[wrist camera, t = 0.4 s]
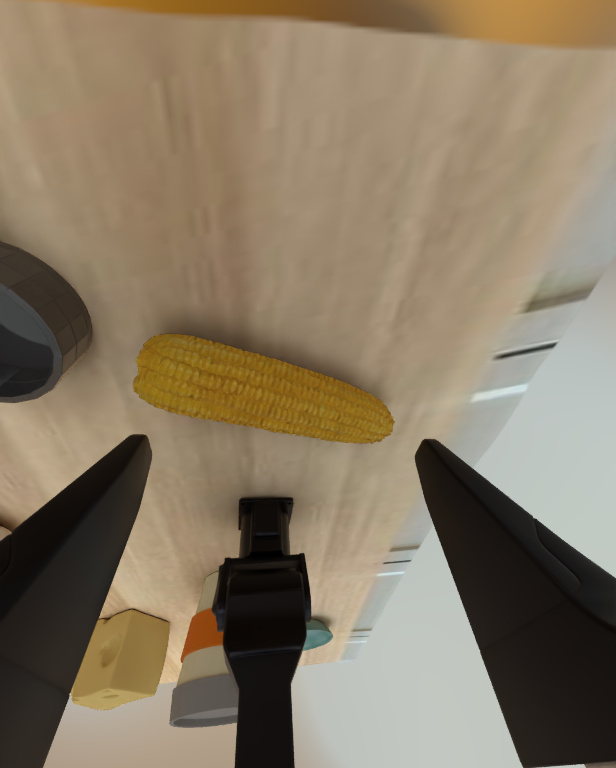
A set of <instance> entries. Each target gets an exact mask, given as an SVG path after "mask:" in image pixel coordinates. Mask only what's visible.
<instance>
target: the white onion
mask: <svg viewBox="0 0 616 768" xmlns="http://www.w3.org/2000/svg"><path fill="white" fill-rule="evenodd" d="M11 533H12V532H11V531H9V530H7V529H6V528H4V527H2V526H0V541H1V540H2V539H3V538H4V537H6V536H7V535H8V534H11Z"/></svg>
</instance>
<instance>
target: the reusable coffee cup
mask: <svg viewBox="0 0 616 768" xmlns="http://www.w3.org/2000/svg"><path fill="white" fill-rule="evenodd" d="M218 574H219V571H218V572H215V573H213V574H211V575H209V576H208V577H207V578H206V579H205V582H204V585H203V589H202V593H201V597H200V600H199V604H198V608H197V612H196V615H195V616H194V617H193V618H192V620H191V623H190V627H189V630H188V634H187V638H186V641H185V645H184V649H183V652H182V656H181V662H182V663H183V664H182V668H181V672H180V675H179V679H178V683H177V687H176V688H174V690H173V694H172V704H171V714H170V725H171V726H174V727H184V728H185V727H186V728H193V727H209V726H218V725H226V724H232V723H237V717H238V699H239V697H238V695H237V692H236V690H235V687H234V684H233V682H232V679H231V677H230V674H229V672H228V669H227V666H226V664H225V658H224V651H223V632H217V623H216V617H215V616H214V615H213V614H212V604H213V600H214V595H215V591H216V587H217V581H218Z"/></svg>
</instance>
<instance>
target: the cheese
mask: <svg viewBox="0 0 616 768" xmlns="http://www.w3.org/2000/svg"><path fill="white" fill-rule="evenodd" d="M169 629H170V623H169V622H166V621H163V620H161V619H158V618H155V617H152V616H149V615H146V614H143V613H141V612H138V611H135V610H128V611H125V612H122V613H119V614H117V615H114V616H113V617H112V618H111V619H110V620H106V619H101V620H98V621H97V624H96V626H95V629H94V632H93V634H92V637H91V640H90V642H89V645H88V648H87V650H86V653H85V656H84V658H83V661H82V664H81V666H80V669H79V672H78V674H77V677H76V680H75V682H74V685H73V688H72V690H71V696H72V701H73V703H74V704H77V705H81V706H85V707H89V708H92V709H97V710H109V709H112V708H115V707H118V706H120V705H122V704H125V703H128V702H131V701H135V700H138V699H142V698H146V697H151V696H154V695H155V693H156V689H157V686H158V684H159V681H160V677H161V674H162V670H163V666H164V662H165V657H166V652H167V646H168V640H169Z"/></svg>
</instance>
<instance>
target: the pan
mask: <svg viewBox="0 0 616 768" xmlns="http://www.w3.org/2000/svg"><path fill="white" fill-rule="evenodd" d="M91 339H92V326H91V321H90V318H89V315H88V312H87V310H86V308H85V306H84V304H83V302H82V301H81V299H80V298H79V296H78V295H77V293H76V292H75V291H74V289H73V288H72V287H71V286H70V285H69V284H68V283H67V282H66V281H65V280H64V279H63V278H62V277H61V276H60V275H59V274H58V273H57V272H56V271H54V270H53V269H52V268H51V267H49V266H48V265H46V264H45V263H44V262H42V261H41V260H39V259H37V258H36V257H34V256H32V255H31V254H29V253H27V252H25V251H23V250H21V249H19V248H16V247H14V246H11V245H8V244H6V243H2V242H0V402H4V403H18V402H23V401H28V400H32V399H37V398H39V397H41V396H43V395H44V394H46V393H47V392H49V391H51V390H52V389H54V388H55V387H56V386H57V384H58V383H59V382H60V381H61V380H62V379H63V378H64V377H65V376H66V375H67V374H68V373H69V372H70V371H71V370H72V369H73V368H74V367H75V366H76V365H77V364H78V363H79V361H80V360H81V358H82V357H83V356H84V355H85V354H86V352H87V351H88V349H89V347H90V343H91Z"/></svg>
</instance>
